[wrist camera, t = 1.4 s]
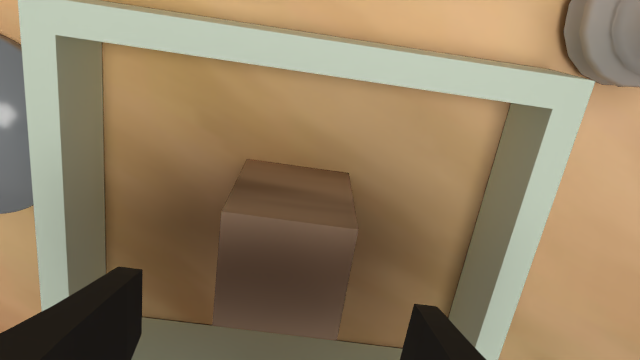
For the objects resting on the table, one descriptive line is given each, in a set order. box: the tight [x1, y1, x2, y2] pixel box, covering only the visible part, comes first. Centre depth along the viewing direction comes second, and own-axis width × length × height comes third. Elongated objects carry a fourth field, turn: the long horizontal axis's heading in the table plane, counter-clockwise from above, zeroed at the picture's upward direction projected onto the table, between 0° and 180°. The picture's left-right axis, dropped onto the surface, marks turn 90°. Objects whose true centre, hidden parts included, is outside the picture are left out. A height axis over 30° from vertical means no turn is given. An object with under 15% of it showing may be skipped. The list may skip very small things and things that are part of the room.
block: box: [212, 159, 358, 340], centre depth 16 cm, size 4×4×5 cm
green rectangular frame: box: [18, 0, 595, 360], centre depth 17 cm, size 14×17×3 cm
